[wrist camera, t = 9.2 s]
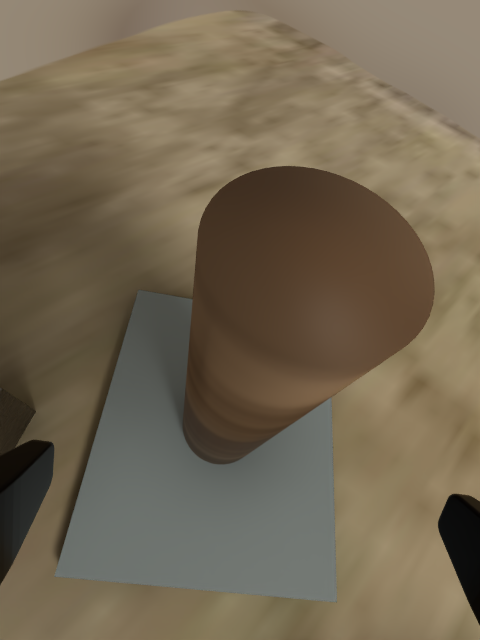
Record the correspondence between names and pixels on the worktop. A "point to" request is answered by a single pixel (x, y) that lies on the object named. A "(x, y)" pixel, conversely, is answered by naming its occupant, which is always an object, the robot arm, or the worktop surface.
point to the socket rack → (12, 420)
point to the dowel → (293, 302)
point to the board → (197, 486)
